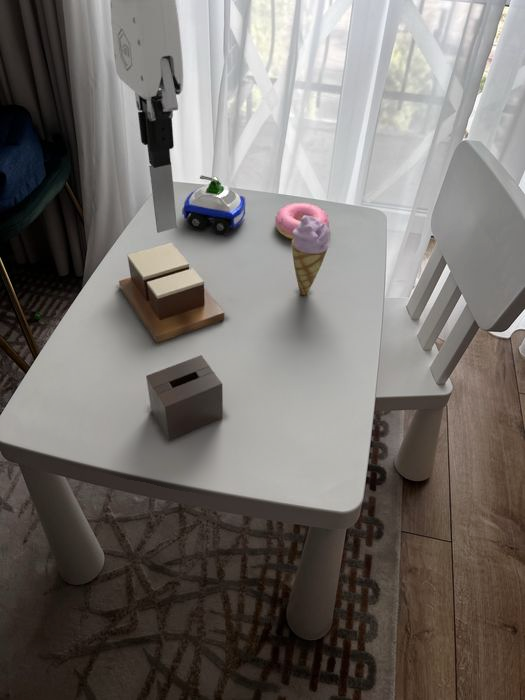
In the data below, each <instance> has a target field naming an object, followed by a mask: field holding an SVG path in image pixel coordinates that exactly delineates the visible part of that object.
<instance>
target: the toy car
mask: <svg viewBox="0 0 525 700" xmlns="http://www.w3.org/2000/svg"><path fill="white" fill-rule="evenodd" d="M199 180H205V181H206V180H207V181H210V182H209V183H208V184H205V185H203V186H201V187H200V188H197V189H195V190H193V191H192V192H190V193H189V194H188V196H187V197H186V198H185V201H184V203H183V207H182V209H181V215H183V219H184V220H187V224H188V226H189V227H190V228H191V229H193V230H196V231H201V230H202V229H204V227H205V225H206V224H207V223H208V219H210V220H211V219H212V220H213V221H212V223H211V227H212V230H213V231H214V233H216V234H218V235H221V236H223V235H226V234H228V232H229V230H230V229H231V228H232V229H235V228H236V227H237V226H238V225H240V224H241V223H242V222H243V220H244V217H245V215H246V197H245V196H243V195H238V193H237V192H235V191H234V190H232V189H231V188H230V187H228V186H226V185H223V184H222V182H220V179H219V178H218V177H217V176H212V177H209V176H206V175H202V174H201V175H200V176H199Z"/></svg>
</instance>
